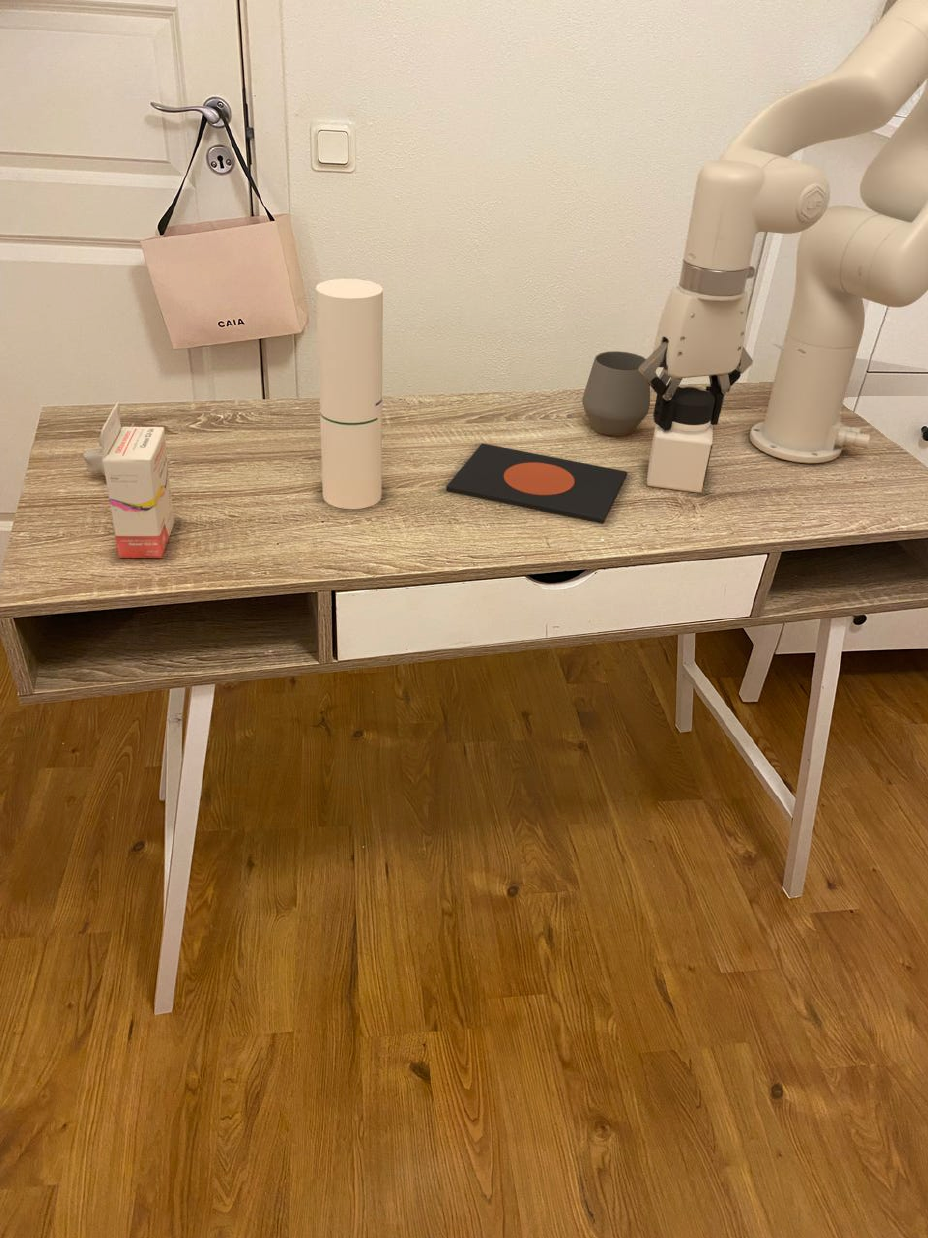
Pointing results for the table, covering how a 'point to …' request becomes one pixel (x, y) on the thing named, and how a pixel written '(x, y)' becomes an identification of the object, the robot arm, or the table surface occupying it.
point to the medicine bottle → (683, 443)
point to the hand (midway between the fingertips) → (685, 422)
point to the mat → (539, 482)
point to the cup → (616, 393)
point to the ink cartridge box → (137, 487)
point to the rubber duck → (95, 458)
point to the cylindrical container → (350, 391)
